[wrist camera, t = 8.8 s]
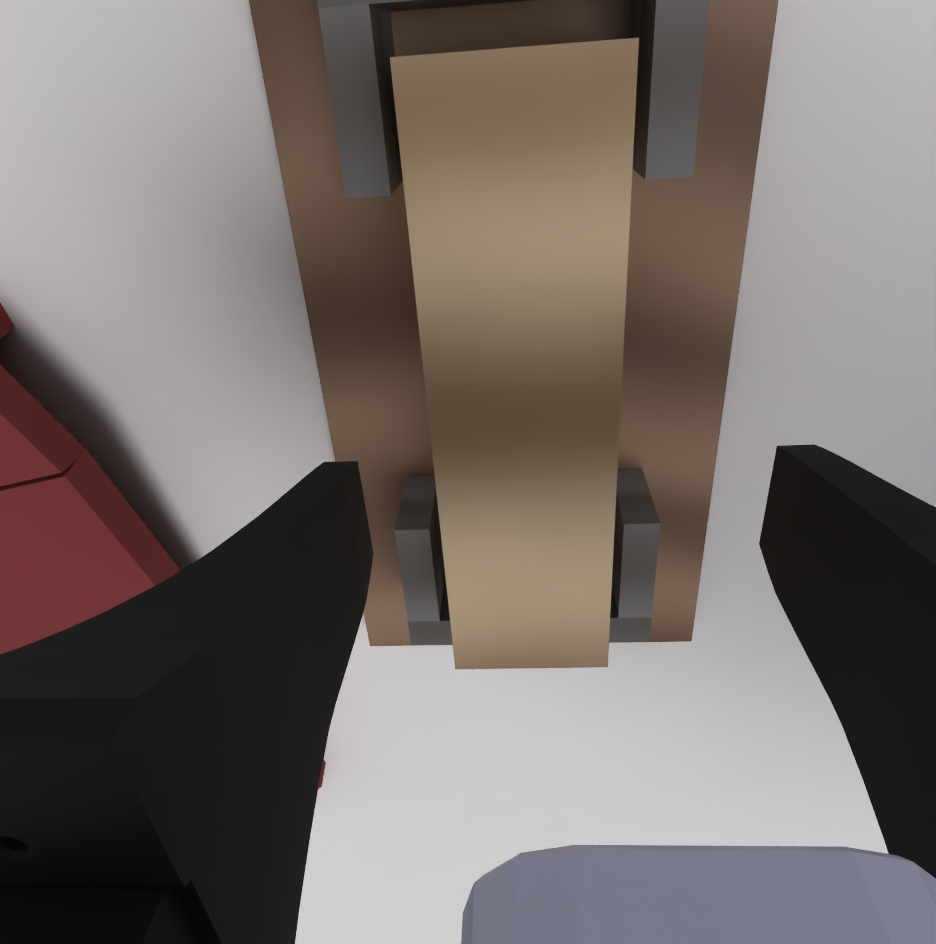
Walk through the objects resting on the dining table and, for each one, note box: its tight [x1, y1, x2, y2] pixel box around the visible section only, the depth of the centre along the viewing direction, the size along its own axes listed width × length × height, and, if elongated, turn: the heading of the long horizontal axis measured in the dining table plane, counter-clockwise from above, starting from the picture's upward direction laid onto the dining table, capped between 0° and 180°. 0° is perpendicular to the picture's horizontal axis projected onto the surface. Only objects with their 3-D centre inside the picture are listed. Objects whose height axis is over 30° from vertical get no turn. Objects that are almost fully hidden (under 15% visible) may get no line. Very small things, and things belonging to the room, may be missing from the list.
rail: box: [390, 38, 639, 669], centre depth 17 cm, size 14×4×6 cm, turn 4°
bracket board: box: [249, 0, 778, 646], centre depth 19 cm, size 24×12×4 cm, turn 4°
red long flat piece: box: [0, 303, 326, 788], centre depth 27 cm, size 12×5×25 cm
